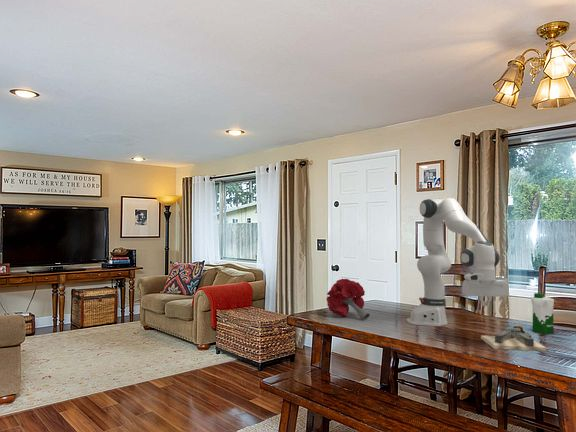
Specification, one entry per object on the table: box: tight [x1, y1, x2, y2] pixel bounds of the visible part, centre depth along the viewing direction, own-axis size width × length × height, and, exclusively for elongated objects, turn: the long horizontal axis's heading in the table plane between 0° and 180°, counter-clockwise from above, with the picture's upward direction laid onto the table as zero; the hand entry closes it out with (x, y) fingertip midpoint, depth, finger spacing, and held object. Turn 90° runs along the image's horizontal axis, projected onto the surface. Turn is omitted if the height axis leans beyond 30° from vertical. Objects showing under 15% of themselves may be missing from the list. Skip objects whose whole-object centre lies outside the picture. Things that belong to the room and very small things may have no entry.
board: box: [480, 335, 548, 352], centre depth 194 cm, size 22×18×2 cm
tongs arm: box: [494, 330, 510, 343], centre depth 195 cm, size 13×3×3 cm, turn 135°
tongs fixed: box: [505, 327, 535, 346], centre depth 194 cm, size 16×6×5 cm, turn 173°
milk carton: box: [530, 292, 555, 335], centre depth 218 cm, size 9×9×20 cm
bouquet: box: [326, 278, 370, 321], centre depth 252 cm, size 21×23×30 cm
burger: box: [512, 321, 532, 338], centre depth 209 cm, size 12×12×8 cm
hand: (485, 305), depth 194 cm, fingers closed
